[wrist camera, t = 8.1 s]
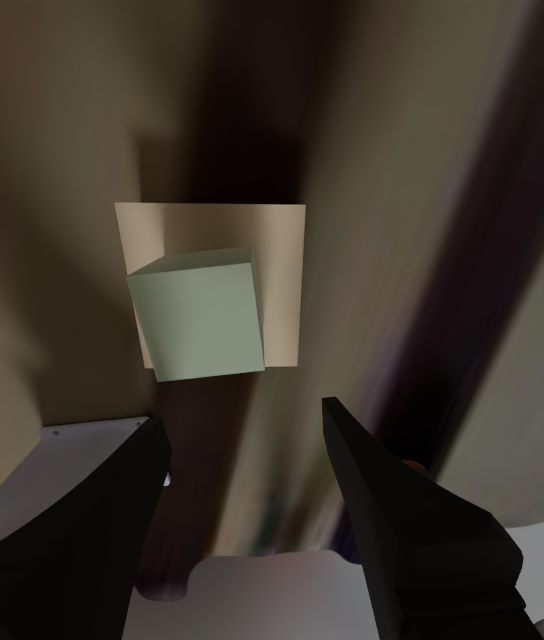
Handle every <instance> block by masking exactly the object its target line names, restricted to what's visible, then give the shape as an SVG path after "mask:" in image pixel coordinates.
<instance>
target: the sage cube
mask: <svg viewBox="0 0 544 640" xmlns="http://www.w3.org/2000/svg"><path fill="white" fill-rule="evenodd" d="M125 277H126V281H127V284H128V287H129V290H130V294H131V297H132V300H133V304H134V307H135V310H136V313H137V317H138V320H139V323H140V326H141V330H142V333H143V336H144V339H145V343H146V346H147V349H148V352H149V356H150V359H151V362H152V365H153V369H154V372H155V375H156V378H157V382H162V381H171V380H180V379H189V378H198V377H207V376H216V375H225V374H234V373H243V372H252V371H262V370H265V362H264V331H263V320H262V312H261V304H260V296H259V288H258V280H257V272H256V264H255V256H254V248H253V246H245V247H236V248H227V249H218V250H209V251H200V252H191V253H182V254H173V255H164V256H162V257H161V258H159V259H157V260H155V261H153V262H151V263H149V264H148V265H146V266H144V267H142V268H140V269H138V270H136V271H135V272H133V273H131V274H129V275H127V276H125Z"/></svg>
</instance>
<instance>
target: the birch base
mask: <svg viewBox="0 0 544 640" xmlns="http://www.w3.org/2000/svg"><path fill="white" fill-rule="evenodd" d="M305 207H306V205H278V204H194V203H115V208H116V214H117V219H118V225H119V230H120V235H121V241H122V246H123V252H124V257H125V262H126V268H127V273H128V275H129V274H131V273H133V272H135V271H136V270H138V269H140V268H142V267H144V266H146V265H148V264H149V263H151V262H153V261H155V260H157V259H159V258H161V257H162V256H164V255H173V254H182V253H191V252H200V251H209V250H218V249H227V248H236V247H245V246H253V248H254V256H255V264H256V272H257V280H258V288H259V296H260V304H261V312H262V320H263V331H264V362H265V367H269V366H297V361H298V341H299V322H300V303H301V284H302V264H303V245H304V226H305ZM133 306H134V304H133ZM134 311H135V317H136V322H137V327H138V333H139V338H140V344H141V349H142V354H143V360H144V365H145V368H153V365H152V362H151V359H150V356H149V352H148V349H147V346H146V343H145V339H144V336H143V333H142V330H141V326H140V323H139V320H138V317H137V313H136V310H135V307H134Z"/></svg>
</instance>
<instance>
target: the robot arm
mask: <svg viewBox="0 0 544 640" xmlns="http://www.w3.org/2000/svg"><path fill="white" fill-rule="evenodd" d="M322 415H323V434H324V438H325V443H326V447H327V451H328V455H329V458H330V461H331V464H332V467H333V470H334V473H335V476H336V478H337V481H338V484H339V487H340V490H341V493H342V495H343V498H344V501H345V504H346V507H347V510H348V513H349V517H350V520H351V524H352V528H353V531H354V535H355V539H356V543H357V547H358V551H359V555H360V559H361V563H362V567H363V571H364V575H365V579H366V583H367V588H368V591H369V595H370V600H371V604H372V608H373V612H374V616H375V621H376V625H377V630H378V634H379V639H380V640H544V619H543V620H540V621H538V622H536V623H535V624H533V623H532V621H531V620H530V618H529V616H528V615H527V613H526V612H525V610H524V609H525V608H526V604H525V601H524V600H523V598H522V597H521V595H520V594H519V592H518V591H517V589H516V588H515V585H516V582H517V580H518V577H519V574H520V572H521V569H522V564H523V554H522V552H521V550H520V548H519V547H518V546H517V544H516V543H515V542H514V540H513V539H512V538H511V537H510V535H509V534H508V533H507V532H506V530H505V529H504V528H503V526H502V525H501V524H500V523H499V522H498V521H497V520H496V519H495V518H494V516H493V515H492V514H491V513H490V512H488V511H486V510H484V509H482V508H480V507H478V506H476V505H474V504H472V503H470V502H468V501H466V500H464V499H462V498H460V497H458V496H457V495H455V494H453V493H451V492H450V491H448V490H446V489H444V488H443V487H441V486H439V485H437V484H436V483H434V482H433V481H431V480H429V479H428V478H426V477H425V476H423V475H422V474H420V473H419V472H417V471H416V470H414V469H413V468H411V467H410V466H408V465H407V464H406V463H404V462H403V461H402V460H400V459H399V458H398V457H396V456H395V455H394V454H393V453H391V452H390V451H389V450H388V449H387V448H385V447H384V446H383V445H382V444H381V443H380V442H379V441H377V440H376V439H375V438H374V437H373V436H372V435H371V434H370V433H369V432H368V431H367V430H366V429H365V428H364V427H363V426H362V425H361V424H360V423H359V422H358V421H357V420H356V419H355V418H354V417H353V416H352V415H351V414H350V413H349V411H348V410H347V409H346V408H345V407H344V406H343V404H342V403H341V402H340V401H339V400H338V398H336V397H328V398H322ZM138 422H140V423H141V424H139V423H138ZM38 434H39V436H40V438H41V440H42V441H40V443H39V444H38V445H37V446H36V447H35V448H34V449H33V450H32V451H31V452H30V453H29V454H28V456H27V457H26V458H25V459H24V460H23V461H22V462H21V463H20V464H19V465H18V466H17V467H16V469H15V470H14V471H13V472H12V473H11V474H10V475H9V476H8V477H7V478H6V479H5V480H4V482H3V483H2V484H1V485H0V640H123V639H124V626H125V621H126V617H127V612H128V607H129V602H130V598H131V594H132V589H133V585H134V581H135V577H136V572H137V568H138V564H139V560H140V557H141V553H142V549H143V545H144V541H145V538H146V535H147V532H148V529H149V526H150V523H151V520H152V517H153V515H154V512H155V509H156V506H157V503H158V500H159V498H160V495H161V492H162V489H163V486H166V485H169V483H170V481H171V478H170V475H169V472H168V470H169V465H170V460H171V455H172V449H171V446H170V443H169V440H168V437H167V434H166V430H165V427H164V424H163V421H162V418H161V417H158V418H149V417H136V418H127V419H117V420H107V421H98V422H88V423H78V424H69V425H59V426H49V427H43V428H42V429H41V430H40V431H39V432H38Z"/></svg>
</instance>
